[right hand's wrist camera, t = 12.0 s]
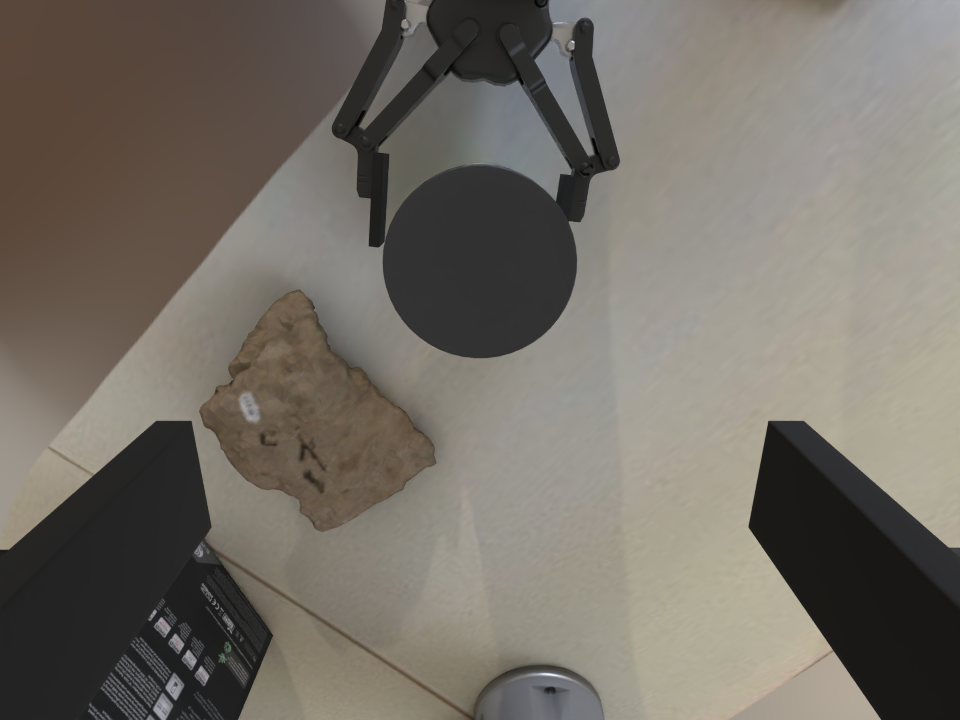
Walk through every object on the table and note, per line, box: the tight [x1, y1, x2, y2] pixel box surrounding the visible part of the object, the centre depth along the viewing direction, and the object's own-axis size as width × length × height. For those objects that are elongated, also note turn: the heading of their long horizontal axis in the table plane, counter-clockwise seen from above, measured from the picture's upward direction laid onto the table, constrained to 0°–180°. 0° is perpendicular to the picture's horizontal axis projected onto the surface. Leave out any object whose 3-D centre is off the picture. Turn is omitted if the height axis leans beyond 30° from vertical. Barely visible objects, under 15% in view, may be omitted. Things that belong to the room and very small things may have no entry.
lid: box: [383, 164, 577, 358], centre depth 35 cm, size 11×11×2 cm
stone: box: [199, 289, 436, 532], centre depth 55 cm, size 21×15×6 cm
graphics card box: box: [79, 539, 273, 720], centre depth 52 cm, size 17×7×27 cm, turn 25°
